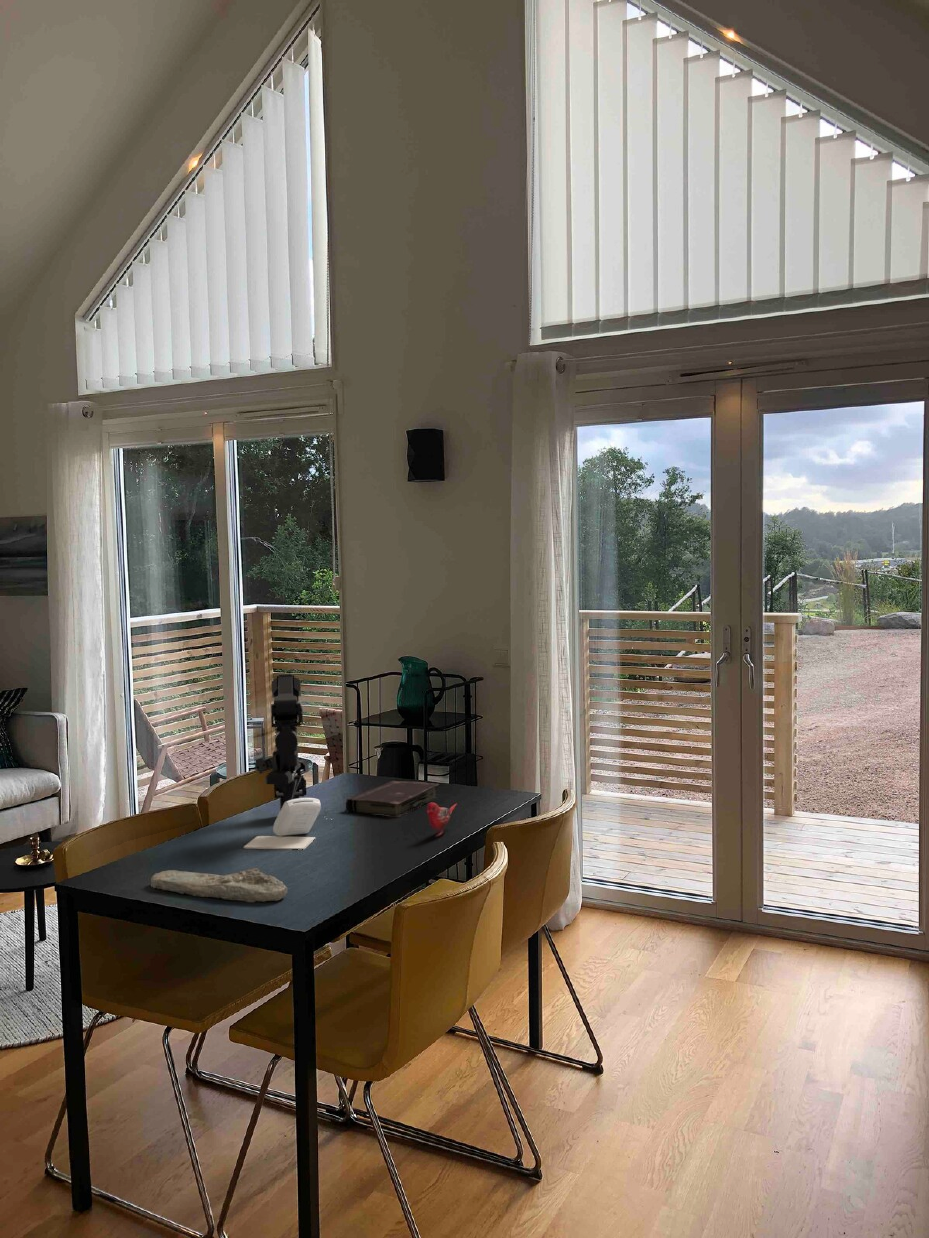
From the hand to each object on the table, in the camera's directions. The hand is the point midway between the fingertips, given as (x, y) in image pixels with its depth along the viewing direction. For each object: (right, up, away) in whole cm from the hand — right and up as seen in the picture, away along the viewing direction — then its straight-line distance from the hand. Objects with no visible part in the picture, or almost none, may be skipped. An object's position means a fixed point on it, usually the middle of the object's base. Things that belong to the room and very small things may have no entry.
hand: (288, 803), depth 270 cm
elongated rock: (-8, -12, -44) cm, 46 cm away
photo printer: (0, -7, +1) cm, 7 cm away
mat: (-1, -9, -7) cm, 12 cm away
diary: (+26, -7, +31) cm, 41 cm away
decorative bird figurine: (+41, -8, -1) cm, 42 cm away
